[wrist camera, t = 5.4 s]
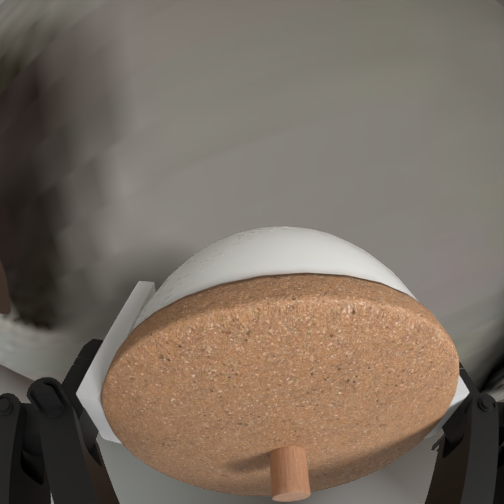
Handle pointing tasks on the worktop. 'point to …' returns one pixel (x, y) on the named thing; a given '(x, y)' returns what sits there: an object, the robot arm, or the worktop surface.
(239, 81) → the worktop surface
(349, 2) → the worktop surface
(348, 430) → the lidded jar
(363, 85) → the worktop surface
